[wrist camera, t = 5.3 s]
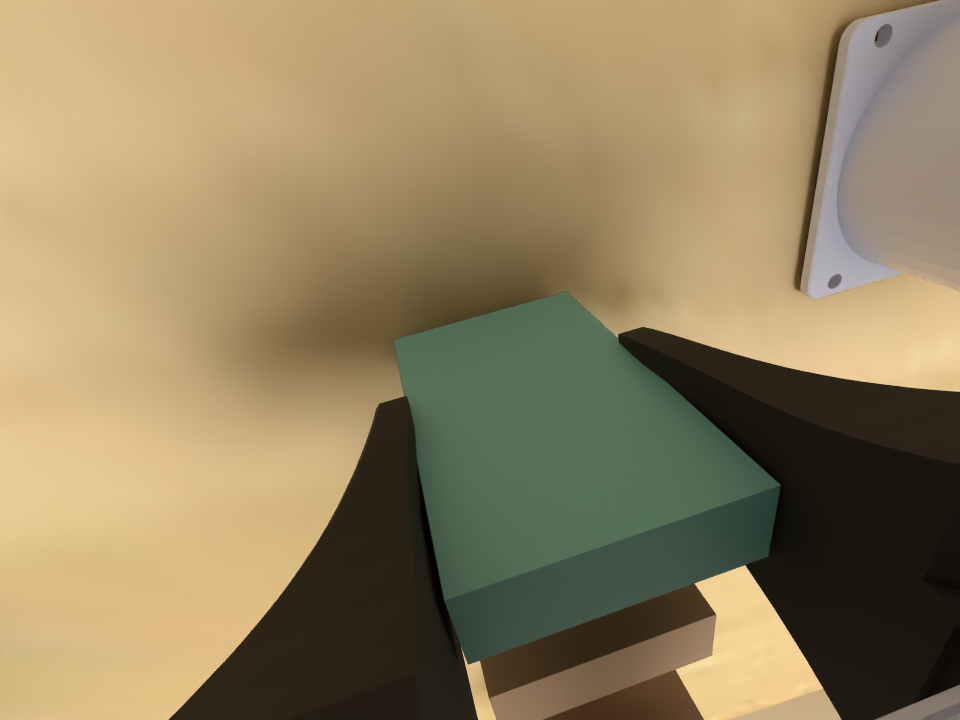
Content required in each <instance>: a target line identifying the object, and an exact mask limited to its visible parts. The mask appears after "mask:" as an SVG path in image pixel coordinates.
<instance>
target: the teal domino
mask: <svg viewBox="0 0 960 720" xmlns="http://www.w3.org/2000/svg"><path fill="white" fill-rule="evenodd" d="M393 341H394V346H395V351H396V356H397V362H398V367H399V372H400V377H401V382H402V387H403V392H404V396H407V398H408V401H409V404H410V409H411V414H412V419H413V423H414V428H415V437H416V454H417V464H418V469H419V474H420V479H421V484H422V489H423V494H424V499H425V505H426V510H427V515H428V520H429V525H430V530H431V535H432V540H433V545H434V550H435V556H436V561H437V566H438V571H439V576H440V581H441V586H442V591H443V596H444V601H445V604H446V606H447V609H448V612H449V615H450V617H451V620H452V623H453V625H454V628H455V631H456V633H457V636H458V639H459V642H460V644H461V647H462V650H463V652H464V655H465V658H466V660H467V663H468V664H471V663H474V662H477V661H480V660H482V659H485V658H488V657H491V656H493V655H496V654H499V653H502V652H505V651H507V650H510V649H513V648H516V647H519V646H521V645H524V644H527V643H530V642H532V641H535V640H538V639H541V638H544V637H546V636H549V635H552V634H555V633H557V632H560V631H563V630H566V629H569V628H571V627H574V626H577V625H580V624H582V623H585V622H588V621H591V620H594V619H596V618H599V617H602V616H605V615H607V614H610V613H613V612H616V611H619V610H621V609H624V608H627V607H630V606H632V605H635V604H638V603H641V602H644V601H646V600H649V599H652V598H655V597H657V596H660V595H663V594H666V593H669V592H671V591H674V590H677V589H680V588H682V587H685V586H688V585H691V584H694V583H696V582H699V581H702V580H705V579H707V578H710V577H713V576H716V575H719V574H721V573H724V572H727V571H730V570H733V569H735V568H738V567H741V566H744V565H746V564H749V563H752V562H755V561H758V560H760V559H763V558H766V557H768V555H769V549H770V543H771V538H772V532H773V526H774V521H775V515H776V509H777V504H778V498H779V492H780V487H781V485H780V484H779V483H778V482H777V481H776V480H775V479H773V478H772V477H771V476H770V475H769V474H768V473H767V472H766V471H765V470H763V469H762V468H761V467H760V466H759V465H758V464H757V463H756V462H755V461H753V460H752V459H751V458H750V457H749V456H748V455H747V454H746V453H745V452H744V451H742V450H741V449H740V448H739V447H738V446H737V445H736V444H735V443H734V442H732V441H731V440H730V439H729V438H728V437H727V436H726V435H725V434H724V433H722V432H721V431H720V430H719V429H718V428H717V427H716V426H715V425H714V424H713V423H711V422H710V421H709V420H708V419H707V418H706V417H705V416H704V415H703V414H701V413H700V412H699V411H698V410H697V409H696V408H695V407H694V406H693V405H691V404H690V403H689V402H688V401H687V400H686V399H685V398H684V397H683V396H682V395H680V394H679V393H678V392H677V391H676V390H675V389H674V388H673V387H672V386H670V385H669V384H668V383H667V382H666V381H664V380H663V379H662V378H660V377H659V376H658V375H656V374H655V373H654V372H652V371H651V370H650V369H648V368H647V367H646V366H644V365H643V364H642V363H641V362H639V361H638V360H637V359H636V358H635V357H634V356H633V355H632V354H631V353H630V352H629V351H627V350H626V349H625V348H624V347H623V346H622V345H621V344H620V343H619V339H618V338H617V337H616V336H615V335H614V334H613V333H612V332H611V331H610V330H608V329H607V328H606V327H605V326H604V325H603V324H602V323H601V322H600V321H598V320H597V319H596V318H595V317H594V316H593V315H592V314H591V313H590V312H588V311H587V310H586V309H585V308H584V307H583V306H582V305H581V304H580V303H579V302H577V301H576V300H575V299H574V298H573V297H572V296H571V295H570V294H569V293H567V292H563V293H559V294H556V295H552V296H549V297H545V298H541V299H538V300H534V301H531V302H527V303H523V304H520V305H516V306H513V307H509V308H505V309H502V310H498V311H495V312H491V313H487V314H484V315H480V316H477V317H473V318H470V319H466V320H462V321H459V322H455V323H452V324H448V325H444V326H441V327H437V328H434V329H430V330H426V331H423V332H419V333H416V334H412V335H408V336H405V337H401V338H398V339H394V340H393Z"/></svg>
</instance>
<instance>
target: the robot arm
mask: <svg viewBox="0 0 960 720" xmlns="http://www.w3.org/2000/svg"><path fill="white" fill-rule="evenodd" d="M877 31H879V35H878V38H877V41H876V42H875V36H876V33H877ZM902 273H905V274H909V275H912V276H915V277H918V278H921V279H924V280H927V281H930V282H933V283H936V284H939V285H942V286H945V287H948V288H951V289H955V290H958V291H960V0H939V1H934V2H930V3H926V4H921V5H917V6H912V7H908V8H904V9H899V10H895V11H890V12H886V13H882V14H877V15H873V16H868V17H864V18H860V19H857V20H855V21H853V22H852V23H851V24H850V25H849V26H848V27H847V28H846V29H845V31H844V33H843V35H842V36H841V40H840V43H839V48H838V54H837V61H836V67H835V73H834V79H833V85H832V92H831V98H830V104H829V110H828V117H827V123H826V129H825V135H824V141H823V148H822V154H821V160H820V166H819V173H818V179H817V185H816V191H815V197H814V204H813V210H812V216H811V222H810V229H809V235H808V241H807V247H806V253H805V260H804V266H803V272H802V278H801V285H800V291H801V292H802V294H804V295H806V296H808V297H810V298H813V299H817V298H821V297H824V296H828V295H831V294H834V293H838V292H841V291H845V290H848V289H851V288H855V287H858V286H861V285H865V284H868V283H871V282H875V281H878V280H882V279H885V278H888V277H892V276H895V275H898V274H902ZM830 278H831V279H830ZM618 338H619V343H620V344H621V345H622V346H623V347H624V348H625V349H626V350H627V351H629V352H630V353H631V354H632V355H633V356H634V357H635V358H636V359H637V360H638V361H639V362H641V363H642V364H643V365H644V366H646V367H647V368H648V369H650V370H651V371H652V372H654V373H655V374H656V375H658V376H659V377H660V378H662V379H663V380H664V381H666V382H667V383H668V384H669V385H670V386H672V387H673V388H674V389H675V390H676V391H677V392H678V393H679V394H680V395H682V396H683V397H684V398H685V399H686V400H687V401H688V402H689V403H690V404H691V405H693V406H694V407H695V408H696V409H697V410H698V411H699V412H700V413H701V414H703V415H704V416H705V417H706V418H707V419H708V420H709V421H710V422H711V423H713V424H714V425H715V426H716V427H717V428H718V429H719V430H720V431H721V432H722V433H724V434H725V435H726V436H727V437H728V438H729V439H730V440H731V441H732V442H734V443H735V444H736V445H737V446H738V447H739V448H740V449H741V450H742V451H744V452H745V453H746V454H747V455H748V456H749V457H750V458H751V459H752V460H753V461H755V462H756V463H757V464H758V465H759V466H760V467H761V468H762V469H763V470H765V471H766V472H767V473H768V474H769V475H770V476H771V477H772V478H773V479H775V480H776V481H777V482H778V483H779V484H780V485H781V487H780V492H779V498H778V504H777V509H776V515H775V521H774V526H773V532H772V538H771V543H770V549H769V555H768V557H766V558H763V559H760V560H758V561H755V562H752V563H749V564H746V567H747V568H748V570H749V571H750V573H751V574H752V576H753V577H754V579H755V580H756V582H757V583H758V585H759V586H760V588H761V589H762V591H763V592H764V594H765V595H766V597H767V598H768V600H769V601H770V603H771V604H772V606H773V607H774V609H775V610H776V612H777V614H778V615H779V617H780V618H781V620H782V622H783V623H784V625H785V626H786V628H787V630H788V631H789V633H790V634H791V636H792V638H793V639H794V641H795V642H796V644H797V645H798V647H799V649H800V650H801V652H802V653H803V655H804V657H805V658H806V660H807V661H808V663H809V665H810V667H811V668H812V670H813V672H814V673H815V675H816V677H817V678H818V680H819V682H820V684H821V685H822V687H823V689H824V690H825V692H826V694H827V695H828V697H829V699H830V701H831V702H832V704H833V706H834V707H835V709H836V711H837V712H838V714H839V716H840V718H841V719H842V720H960V392H953V391H939V390H928V389H917V388H908V387H900V386H892V385H884V384H876V383H868V382H861V381H854V380H848V379H841V378H836V377H831V376H825V375H820V374H815V373H810V372H804V371H800V370H795V369H791V368H786V367H782V366H778V365H774V364H770V363H766V362H762V361H758V360H754V359H751V358H747V357H744V356H740V355H736V354H733V353H730V352H726V351H723V350H720V349H716V348H713V347H710V346H707V345H703V344H700V343H697V342H694V341H691V340H688V339H684V338H681V337H678V336H675V335H671V334H668V333H665V332H661V331H658V330H654V329H650V328H645V327H641V328H638V329H634V330H631V331H627V332H624V333H621V334H618ZM169 720H478V718H477V714H476V709H475V705H474V701H473V696H472V692H471V688H470V683H469V679H468V675H467V670H466V666H465V662H464V657H463V653H462V649H461V644H460V642H459V639H458V636H457V633H456V631H455V628H454V625H453V623H452V620H451V617H450V615H449V612H448V609H447V606H446V604H445V601H444V596H443V591H442V586H441V581H440V576H439V571H438V566H437V561H436V556H435V550H434V545H433V540H432V535H431V530H430V525H429V520H428V515H427V510H426V505H425V499H424V494H423V489H422V484H421V479H420V474H419V469H418V464H417V454H416V437H415V428H414V423H413V419H412V414H411V409H410V404H409V401H408V398H407V396H404V397H401V398H397V399H394V400H391V401H387V402H384V403H380V404H379V406H378V407H377V409H376V412H375V416H374V419H373V423H372V426H371V429H370V432H369V435H368V438H367V441H366V444H365V446H364V449H363V451H362V454H361V456H360V459H359V461H358V464H357V467H356V469H355V471H354V474H353V476H352V478H351V480H350V482H349V484H348V486H347V488H346V491H345V493H344V495H343V497H342V499H341V501H340V503H339V505H338V507H337V509H336V511H335V512H334V514H333V516H332V518H331V520H330V522H329V523H328V525H327V527H326V529H325V530H324V532H323V534H322V535H321V537H320V539H319V540H318V542H317V543H316V545H315V547H314V548H313V550H312V551H311V553H310V554H309V556H308V557H307V559H306V560H305V562H304V563H303V565H302V566H301V568H300V569H299V571H298V572H297V573H296V575H295V576H294V578H293V579H292V580H291V582H290V583H289V585H288V586H287V587H286V589H285V590H284V591H283V593H282V594H281V595H280V597H279V598H278V599H277V600H276V602H275V603H274V604H273V605H272V607H271V608H270V609H269V610H268V612H267V613H266V614H265V615H264V617H263V618H262V619H261V620H260V621H259V623H258V624H257V625H256V626H255V627H254V629H253V630H252V631H251V632H250V633H249V634H248V636H247V637H246V638H245V639H244V640H243V642H242V643H241V644H240V645H239V646H238V647H237V648H236V649H235V651H234V652H233V653H232V654H231V655H230V656H229V657H228V658H227V659H226V661H225V662H224V663H223V664H222V665H221V666H220V667H219V668H218V669H217V670H216V671H215V672H214V673H213V674H212V675H211V676H210V677H209V678H208V680H207V681H206V682H205V683H204V684H203V685H202V686H201V687H200V688H199V689H198V690H197V691H196V692H195V693H194V694H193V695H192V696H191V697H190V699H189V700H188V701H187V702H186V703H185V704H184V705H183V706H182V707H181V708H180V709H179V710H178V711H177V712H176V713H175V714H174V715H173V716H172V717H171V718H170V719H169Z"/></svg>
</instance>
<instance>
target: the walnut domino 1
mask: <svg viewBox="0 0 960 720" xmlns="http://www.w3.org/2000/svg"><path fill="white" fill-rule="evenodd" d="M715 621H716V614H715V612H714V611H713V609H712V608H711V607H710V605H709V604H708V602H707V601H706V599H705V598H704V597H703V595H702V594H701V592H700V591H699V590H698V588H697V587H696V585H695V584H691V585H688V586H685V587H682V588H680V589H677V590H674V591H671V592H669V593H666V594H663V595H660V596H657V597H655V598H652V599H649V600H646V601H644V602H641V603H638V604H635V605H632V606H630V607H627V608H624V609H621V610H619V611H616V612H613V613H610V614H607V615H605V616H602V617H599V618H596V619H594V620H591V621H588V622H585V623H582V624H580V625H577V626H574V627H571V628H569V629H566V630H563V631H560V632H557V633H555V634H552V635H549V636H546V637H544V638H541V639H538V640H535V641H532V642H530V643H527V644H524V645H521V646H519V647H516V648H513V649H510V650H507V651H505V652H502V653H499V654H496V655H493V656H491V657H488V658H485V659H482V660H480V662H481V666H482V670H483V675H484V679H485V683H486V687H487V691H488V696H489V699H490V702H491V705H492V708H493V711H494V714H495V716H496V719H497V720H543V719H546V718H548V717H551V716H554V715H556V714H559V713H561V712H564V711H567V710H569V709H572V708H575V707H577V706H580V705H583V704H585V703H588V702H591V701H593V700H596V699H598V698H601V697H604V696H606V695H609V694H612V693H614V692H617V691H620V690H622V689H625V688H627V687H630V686H633V685H635V684H638V683H641V682H643V681H646V680H649V679H651V678H654V677H657V676H659V675H662V674H664V673H667V672H670V671H672V670H675V669H678V668H680V667H683V666H686V665H688V664H691V663H693V662H696V661H699V660H701V659H704V658H707V657H709V656H712V650H713V640H714V631H715Z"/></svg>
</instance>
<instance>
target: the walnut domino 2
mask: <svg viewBox="0 0 960 720" xmlns="http://www.w3.org/2000/svg"><path fill="white" fill-rule="evenodd" d="M543 720H704V719H703V717H702V716H701V714H700V712H699V710H698V709H697V707H696V705H695V703H694V702H693V700H692V698H691V696H690V695H689V693H688V691H687V689H686V688H685V686H684V684H683V682H682V681H681V679H680V677H679V675H678V674H677V672H676V670H672V671H670V672H667V673H664V674H662V675H659V676H657V677H654V678H651V679H649V680H646V681H643V682H641V683H638V684H635V685H633V686H630V687H627V688H625V689H622V690H620V691H617V692H614V693H612V694H609V695H606V696H604V697H601V698H598V699H596V700H593V701H591V702H588V703H585V704H583V705H580V706H577V707H575V708H572V709H569V710H567V711H564V712H561V713H559V714H556V715H554V716H551V717H548V718H546V719H543Z"/></svg>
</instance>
